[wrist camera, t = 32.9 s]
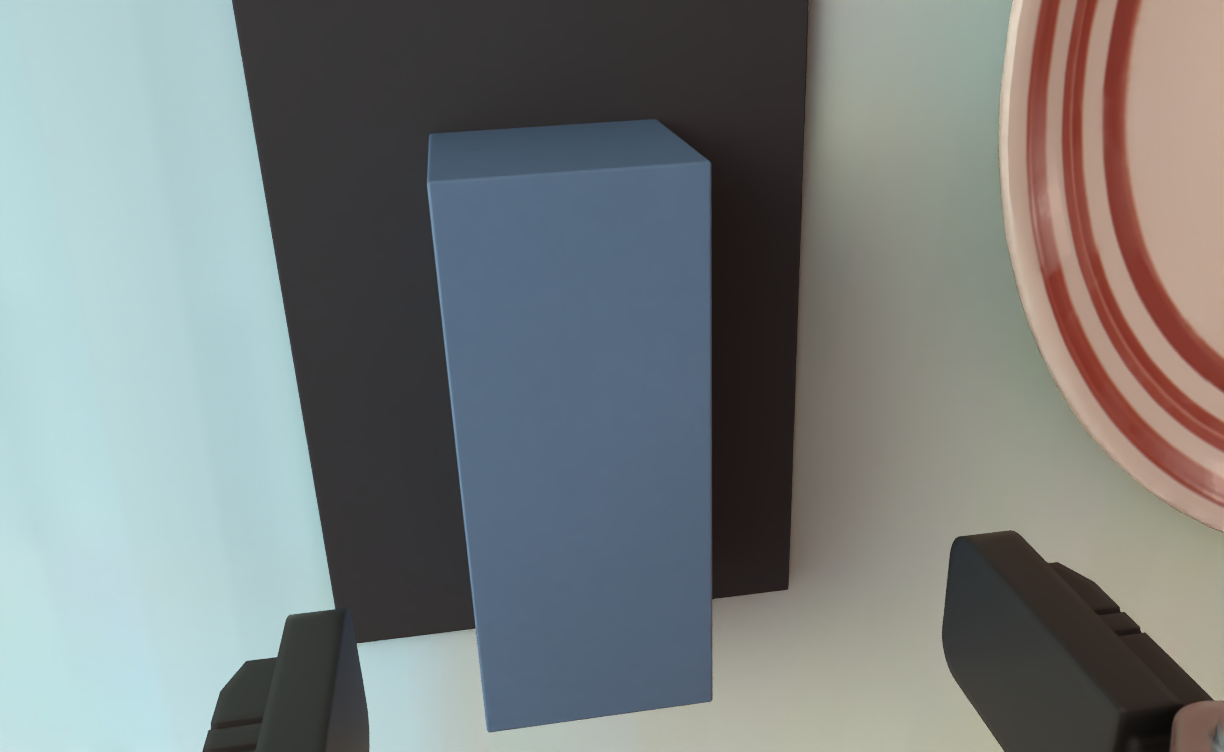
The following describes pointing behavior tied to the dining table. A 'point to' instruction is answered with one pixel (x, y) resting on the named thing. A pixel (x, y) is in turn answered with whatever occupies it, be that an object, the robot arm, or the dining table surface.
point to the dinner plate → (1124, 226)
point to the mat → (405, 261)
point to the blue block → (580, 411)
